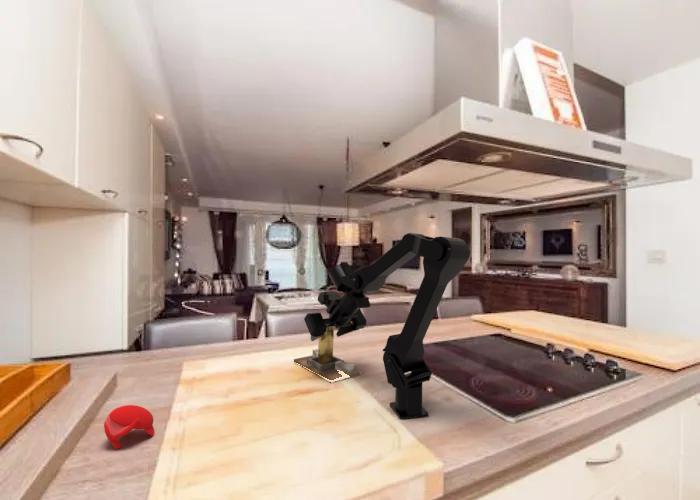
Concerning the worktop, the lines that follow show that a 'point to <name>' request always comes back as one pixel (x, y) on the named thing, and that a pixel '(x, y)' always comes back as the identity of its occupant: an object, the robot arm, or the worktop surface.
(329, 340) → the olive gold cylinder
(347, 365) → the shaft rig
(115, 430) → the red curved piece
